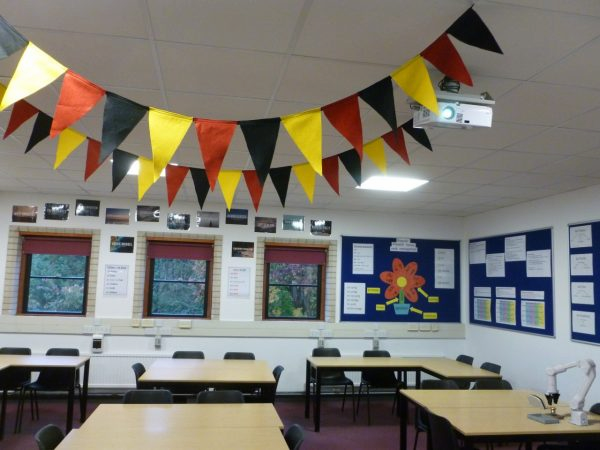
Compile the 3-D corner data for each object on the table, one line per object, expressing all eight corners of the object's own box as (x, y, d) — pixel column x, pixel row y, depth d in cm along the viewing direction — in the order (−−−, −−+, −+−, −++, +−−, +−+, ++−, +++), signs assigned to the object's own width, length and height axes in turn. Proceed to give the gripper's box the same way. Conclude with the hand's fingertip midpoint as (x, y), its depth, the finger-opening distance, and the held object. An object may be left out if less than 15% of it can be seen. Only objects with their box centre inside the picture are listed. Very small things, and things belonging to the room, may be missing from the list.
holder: (563, 419, 334) (563, 416, 334) (553, 420, 332) (553, 417, 332) (553, 415, 343) (553, 413, 343) (543, 416, 340) (543, 413, 340)
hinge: (549, 409, 362) (544, 396, 362) (543, 411, 361) (539, 398, 362) (535, 403, 378) (530, 391, 379) (529, 406, 377) (525, 393, 378)
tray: (559, 423, 324) (559, 419, 324) (544, 424, 321) (544, 420, 321) (541, 416, 339) (541, 413, 340) (527, 417, 336) (527, 414, 336)
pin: (558, 418, 336) (557, 408, 337) (553, 418, 335) (552, 408, 336) (553, 417, 340) (553, 406, 341) (548, 417, 339) (548, 407, 339)
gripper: (551, 382, 347) (552, 402, 346) (541, 384, 339) (541, 404, 337) (561, 384, 342) (562, 404, 340) (551, 386, 333) (552, 406, 332)
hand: (552, 404), depth 338 cm, fingers open, 7 cm apart
